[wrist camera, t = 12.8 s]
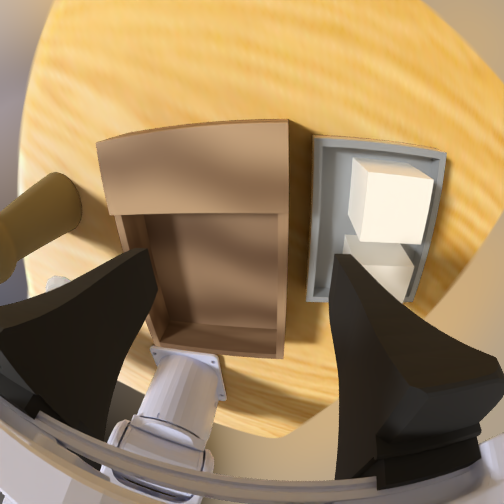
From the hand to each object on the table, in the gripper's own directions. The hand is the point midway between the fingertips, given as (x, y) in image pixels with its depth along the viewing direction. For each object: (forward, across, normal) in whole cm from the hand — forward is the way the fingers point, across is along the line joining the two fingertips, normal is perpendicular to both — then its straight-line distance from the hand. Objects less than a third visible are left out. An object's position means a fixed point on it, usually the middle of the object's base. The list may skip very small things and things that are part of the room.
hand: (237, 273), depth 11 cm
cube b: (+9, -8, -1) cm, 12 cm away
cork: (+10, +19, 0) cm, 22 cm away
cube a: (+9, -8, +5) cm, 13 cm away
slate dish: (+10, -8, +2) cm, 13 cm away
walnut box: (+10, +4, +4) cm, 11 cm away
